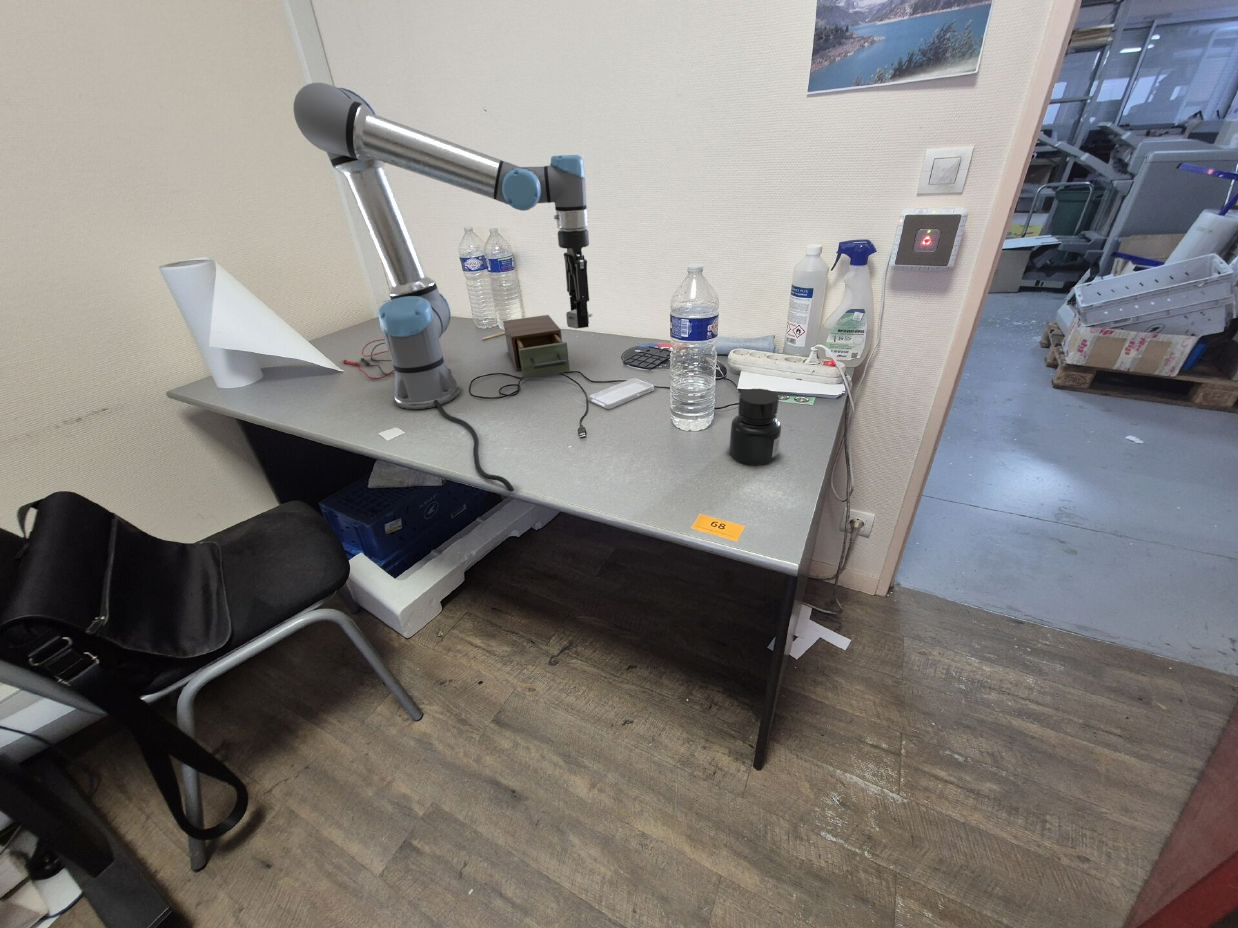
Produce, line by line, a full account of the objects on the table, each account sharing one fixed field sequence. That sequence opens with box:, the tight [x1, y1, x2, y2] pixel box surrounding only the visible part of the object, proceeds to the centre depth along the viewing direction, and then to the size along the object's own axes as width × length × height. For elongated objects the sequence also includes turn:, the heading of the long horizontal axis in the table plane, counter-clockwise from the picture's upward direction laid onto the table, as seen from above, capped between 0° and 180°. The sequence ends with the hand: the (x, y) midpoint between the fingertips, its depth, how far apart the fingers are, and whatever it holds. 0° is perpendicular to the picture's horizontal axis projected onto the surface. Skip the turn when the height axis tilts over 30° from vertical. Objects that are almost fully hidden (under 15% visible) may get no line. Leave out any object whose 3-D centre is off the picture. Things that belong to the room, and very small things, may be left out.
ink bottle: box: [729, 388, 782, 466], centre depth 92 cm, size 10×9×12 cm
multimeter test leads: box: [339, 338, 395, 380], centre depth 149 cm, size 23×4×25 cm
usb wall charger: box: [565, 309, 593, 329], centre depth 134 cm, size 4×7×4 cm, turn 142°
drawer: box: [515, 333, 571, 380], centre depth 134 cm, size 22×12×8 cm, turn 19°
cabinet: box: [502, 314, 563, 372], centre depth 145 cm, size 17×14×10 cm
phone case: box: [588, 377, 655, 410], centre depth 121 cm, size 7×1×15 cm
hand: (580, 324), depth 134 cm, fingers closed on usb wall charger, 6 cm apart
